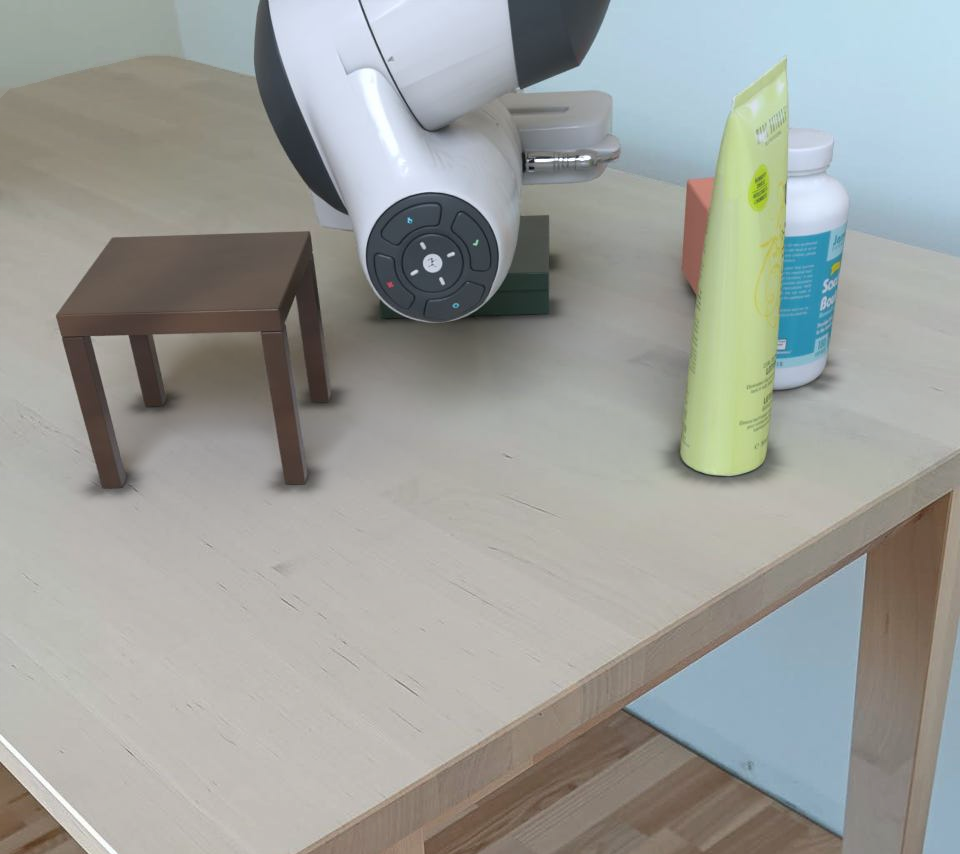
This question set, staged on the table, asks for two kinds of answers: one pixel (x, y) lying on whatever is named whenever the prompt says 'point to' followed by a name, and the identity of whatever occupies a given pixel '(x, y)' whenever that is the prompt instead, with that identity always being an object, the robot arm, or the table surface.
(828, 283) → the pill bottle
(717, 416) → the tube
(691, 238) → the salmon pink upright block
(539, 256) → the green lidded gift box
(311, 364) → the small brown table
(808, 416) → the table surface
